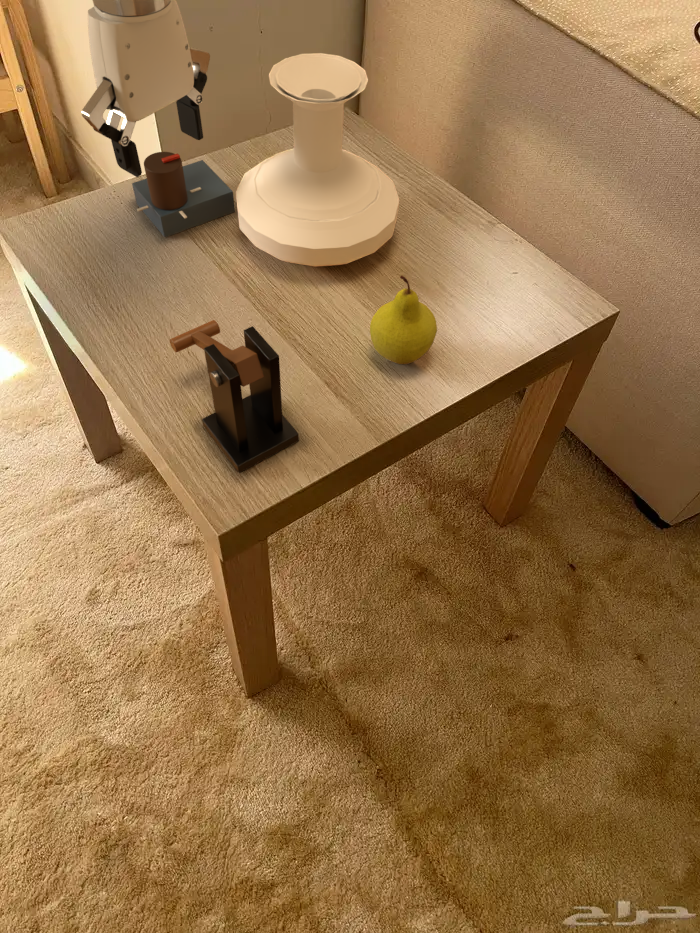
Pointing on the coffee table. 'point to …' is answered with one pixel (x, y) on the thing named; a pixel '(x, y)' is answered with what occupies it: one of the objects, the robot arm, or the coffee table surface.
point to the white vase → (317, 174)
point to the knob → (166, 180)
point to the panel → (189, 201)
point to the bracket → (247, 407)
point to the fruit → (403, 328)
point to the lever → (222, 351)
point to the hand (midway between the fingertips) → (162, 152)
